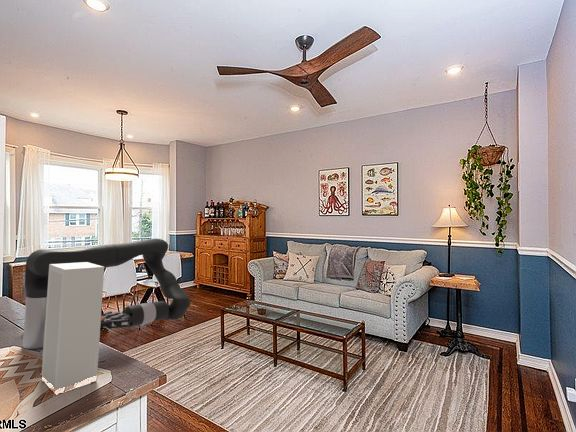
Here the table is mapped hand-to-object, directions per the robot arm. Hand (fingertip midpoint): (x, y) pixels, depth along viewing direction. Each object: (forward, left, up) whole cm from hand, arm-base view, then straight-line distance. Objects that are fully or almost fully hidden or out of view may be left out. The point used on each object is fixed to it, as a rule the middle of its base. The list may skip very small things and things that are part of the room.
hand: (88, 325), depth 102 cm
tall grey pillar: (+13, -9, -10) cm, 19 cm away
